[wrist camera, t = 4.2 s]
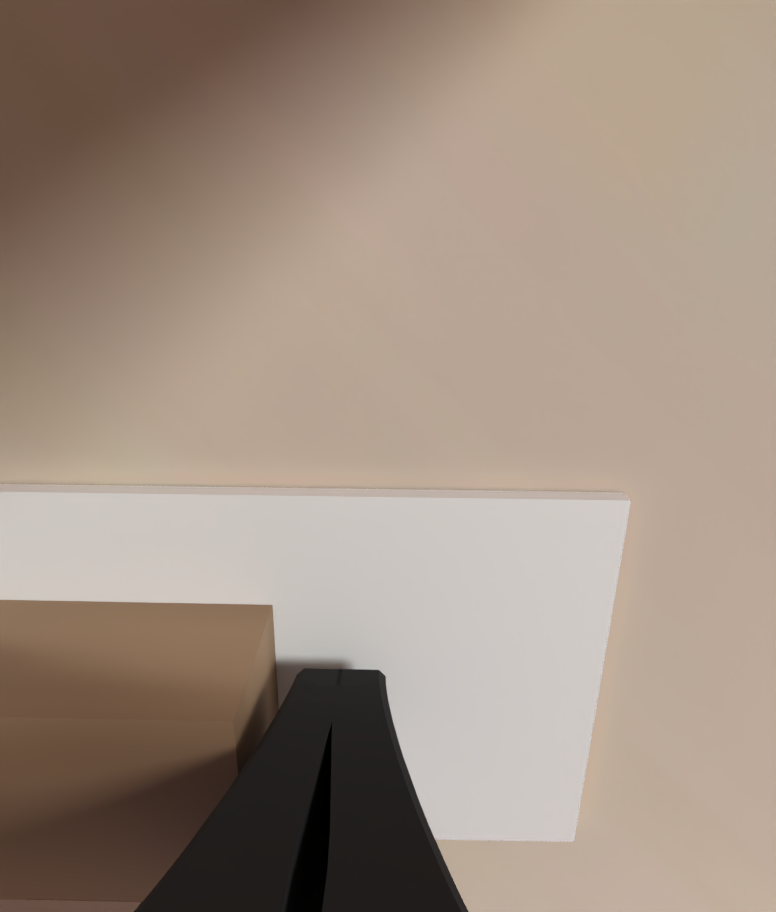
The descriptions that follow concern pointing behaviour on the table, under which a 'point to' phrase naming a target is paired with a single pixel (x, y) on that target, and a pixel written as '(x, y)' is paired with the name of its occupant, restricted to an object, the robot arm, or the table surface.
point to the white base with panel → (378, 612)
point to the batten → (121, 736)
